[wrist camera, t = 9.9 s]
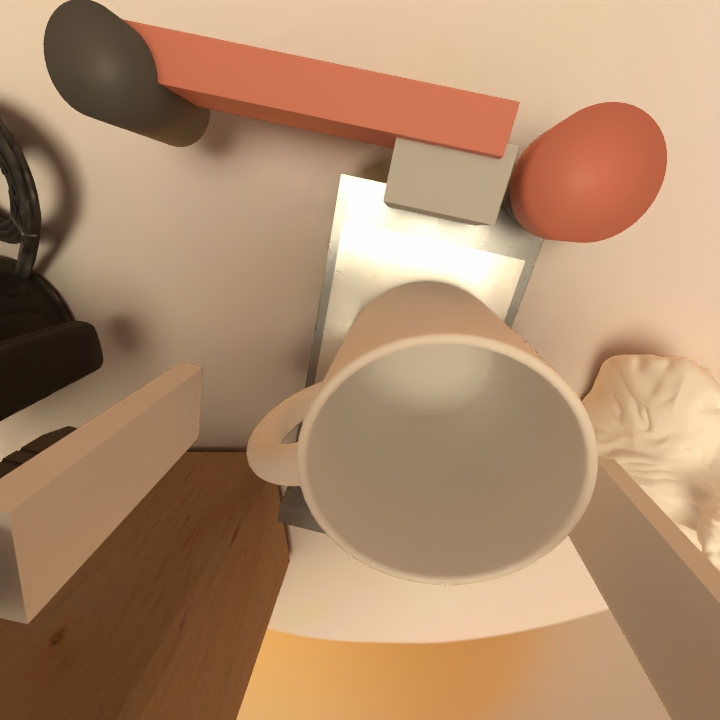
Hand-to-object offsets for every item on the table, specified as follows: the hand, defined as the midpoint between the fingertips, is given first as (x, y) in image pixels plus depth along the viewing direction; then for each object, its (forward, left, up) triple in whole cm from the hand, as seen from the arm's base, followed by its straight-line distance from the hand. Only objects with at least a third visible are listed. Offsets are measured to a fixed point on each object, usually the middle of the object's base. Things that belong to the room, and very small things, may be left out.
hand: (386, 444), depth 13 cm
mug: (0, 0, -9) cm, 9 cm away
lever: (-3, +9, -7) cm, 12 cm away
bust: (+14, -1, -10) cm, 18 cm away
